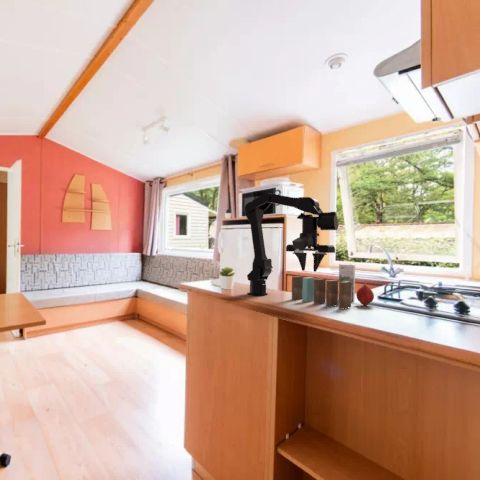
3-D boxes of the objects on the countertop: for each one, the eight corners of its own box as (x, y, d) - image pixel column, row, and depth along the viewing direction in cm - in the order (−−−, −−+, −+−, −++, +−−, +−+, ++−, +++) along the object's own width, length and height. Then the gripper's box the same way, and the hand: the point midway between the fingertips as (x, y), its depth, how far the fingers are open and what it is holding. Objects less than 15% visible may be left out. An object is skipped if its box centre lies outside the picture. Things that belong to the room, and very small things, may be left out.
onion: (353, 304, 111) (353, 282, 111) (368, 304, 111) (368, 282, 111) (361, 307, 105) (361, 284, 105) (376, 307, 105) (377, 284, 106)
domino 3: (313, 303, 110) (314, 279, 110) (320, 302, 114) (321, 278, 114) (318, 304, 109) (318, 279, 109) (325, 302, 112) (325, 278, 112)
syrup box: (354, 299, 121) (355, 263, 121) (353, 301, 116) (354, 264, 116) (339, 298, 123) (340, 262, 124) (338, 300, 118) (338, 263, 118)
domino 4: (325, 305, 107) (326, 280, 107) (332, 304, 110) (333, 279, 110) (331, 306, 105) (331, 281, 105) (337, 305, 109) (338, 280, 109)
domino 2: (302, 301, 114) (302, 277, 114) (309, 300, 117) (309, 277, 117) (306, 302, 113) (307, 278, 113) (313, 300, 116) (314, 277, 116)
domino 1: (291, 299, 118) (292, 276, 118) (298, 298, 121) (299, 275, 121) (295, 300, 116) (296, 277, 116) (303, 298, 119) (303, 276, 120)
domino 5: (338, 308, 103) (339, 282, 103) (345, 306, 106) (346, 281, 107) (344, 309, 102) (344, 282, 102) (351, 307, 105) (351, 281, 105)
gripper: (277, 230, 116) (276, 270, 116) (319, 228, 103) (319, 274, 103) (294, 231, 124) (294, 269, 124) (336, 230, 111) (335, 272, 110)
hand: (309, 271), depth 115 cm, fingers open, 5 cm apart
